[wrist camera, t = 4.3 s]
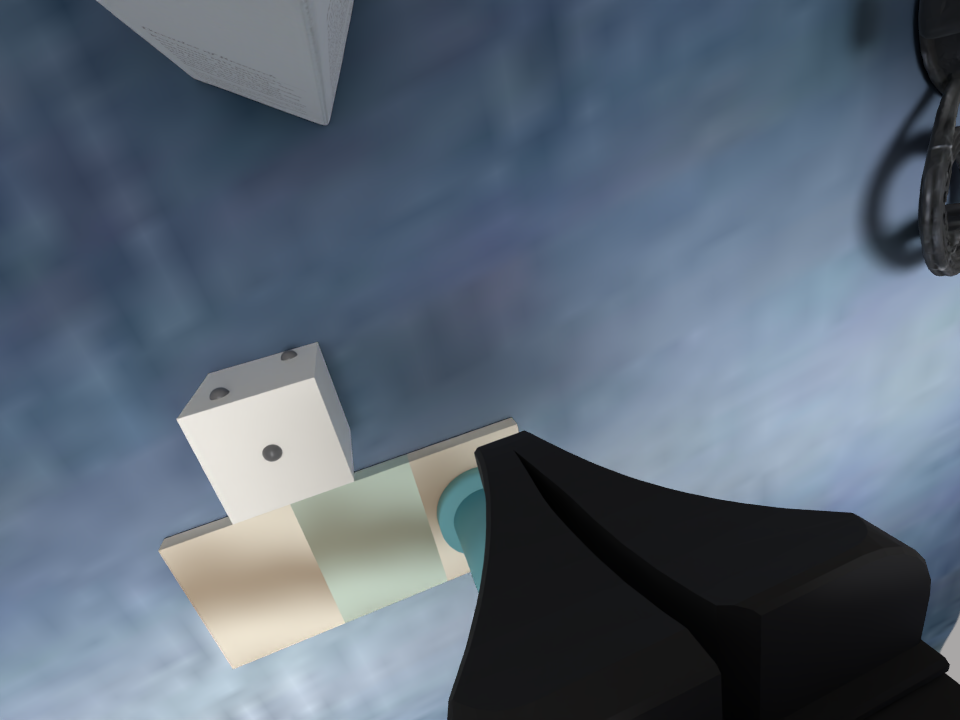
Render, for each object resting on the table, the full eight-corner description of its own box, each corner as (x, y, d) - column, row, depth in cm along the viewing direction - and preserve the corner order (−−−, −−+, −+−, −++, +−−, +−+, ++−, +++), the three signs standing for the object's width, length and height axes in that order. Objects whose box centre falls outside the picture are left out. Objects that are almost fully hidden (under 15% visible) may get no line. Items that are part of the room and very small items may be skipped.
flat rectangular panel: (536, 533, 24) (542, 542, 24) (235, 655, 21) (232, 669, 21) (511, 417, 21) (517, 424, 21) (164, 538, 19) (158, 550, 18)
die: (350, 428, 20) (354, 485, 16) (245, 463, 19) (223, 532, 15) (315, 335, 18) (310, 372, 14) (198, 369, 17) (160, 418, 13)
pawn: (530, 523, 23) (609, 653, 16) (448, 556, 22) (497, 706, 16) (514, 452, 21) (595, 565, 15) (426, 485, 20) (470, 619, 14)
